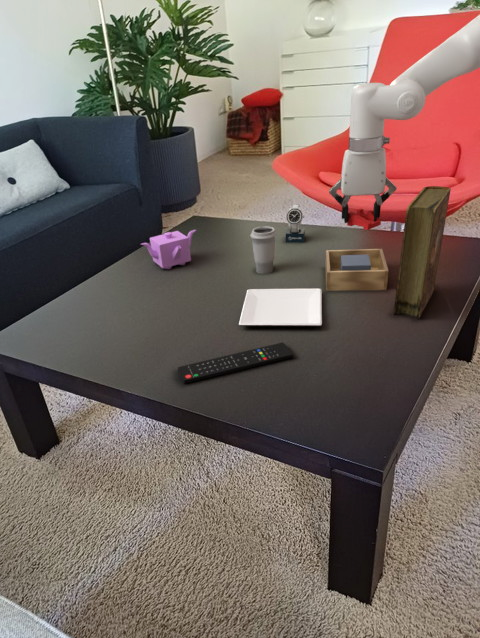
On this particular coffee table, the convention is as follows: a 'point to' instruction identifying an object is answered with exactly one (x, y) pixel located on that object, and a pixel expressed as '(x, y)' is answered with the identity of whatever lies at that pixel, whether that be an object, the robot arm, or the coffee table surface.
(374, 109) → the robot arm
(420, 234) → the book
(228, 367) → the remote control
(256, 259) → the cup
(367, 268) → the grey block
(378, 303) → the coffee table surface
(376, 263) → the crate
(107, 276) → the coffee table surface
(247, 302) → the plate
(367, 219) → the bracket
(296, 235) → the watch
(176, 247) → the teapot
